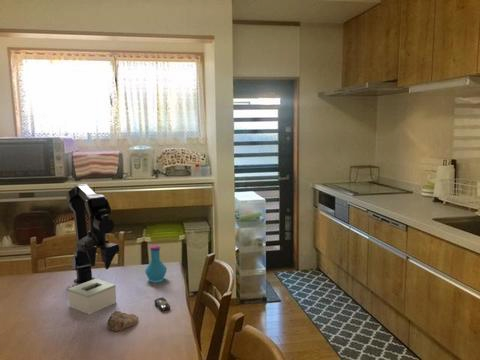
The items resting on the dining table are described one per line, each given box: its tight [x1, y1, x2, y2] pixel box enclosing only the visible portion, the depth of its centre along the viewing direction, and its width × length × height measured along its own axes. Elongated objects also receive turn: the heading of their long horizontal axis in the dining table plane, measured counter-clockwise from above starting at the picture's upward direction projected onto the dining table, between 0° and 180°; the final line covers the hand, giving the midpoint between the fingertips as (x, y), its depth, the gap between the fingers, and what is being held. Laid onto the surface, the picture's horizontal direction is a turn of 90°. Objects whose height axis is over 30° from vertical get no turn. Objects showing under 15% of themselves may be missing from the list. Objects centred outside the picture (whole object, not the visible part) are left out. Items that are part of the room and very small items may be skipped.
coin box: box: [67, 278, 117, 315], centre depth 151 cm, size 12×12×7 cm
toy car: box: [152, 282, 171, 313], centre depth 149 cm, size 4×12×8 cm, turn 34°
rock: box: [106, 310, 139, 333], centre depth 134 cm, size 9×6×10 cm
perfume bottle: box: [144, 245, 168, 283], centre depth 174 cm, size 9×9×15 cm
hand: (99, 266), depth 156 cm, fingers open, 9 cm apart
